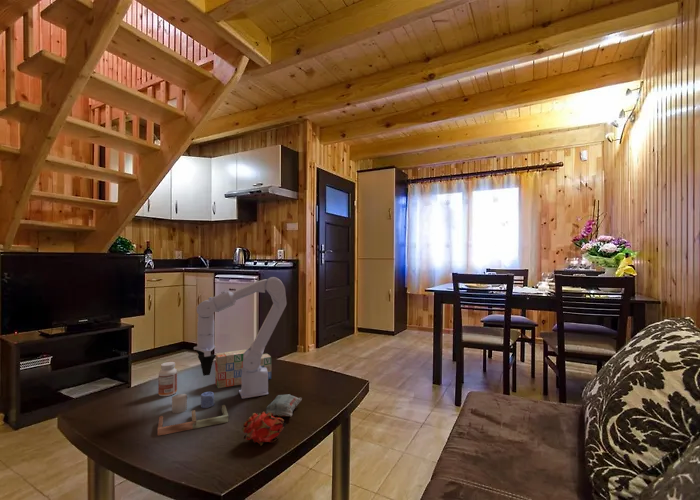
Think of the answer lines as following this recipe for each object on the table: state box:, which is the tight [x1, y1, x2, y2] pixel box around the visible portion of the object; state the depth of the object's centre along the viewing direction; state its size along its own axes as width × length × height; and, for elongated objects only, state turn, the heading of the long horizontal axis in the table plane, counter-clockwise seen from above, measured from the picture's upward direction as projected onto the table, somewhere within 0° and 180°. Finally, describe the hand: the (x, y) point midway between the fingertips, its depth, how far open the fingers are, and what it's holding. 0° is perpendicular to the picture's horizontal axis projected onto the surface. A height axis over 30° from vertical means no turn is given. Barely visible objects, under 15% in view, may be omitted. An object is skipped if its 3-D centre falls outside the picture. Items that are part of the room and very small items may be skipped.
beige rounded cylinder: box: [171, 393, 188, 414], centre depth 114 cm, size 4×4×4 cm
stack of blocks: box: [214, 349, 272, 389], centre depth 142 cm, size 21×6×12 cm, turn 120°
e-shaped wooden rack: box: [157, 404, 229, 437], centre depth 106 cm, size 19×9×2 cm, turn 116°
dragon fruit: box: [241, 411, 287, 447], centre depth 94 cm, size 8×8×12 cm
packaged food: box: [265, 393, 303, 417], centre depth 112 cm, size 9×12×5 cm
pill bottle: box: [157, 361, 178, 397], centre depth 129 cm, size 6×6×11 cm
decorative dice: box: [200, 391, 215, 409], centre depth 118 cm, size 4×4×4 cm
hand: (205, 371), depth 124 cm, fingers open, 7 cm apart
